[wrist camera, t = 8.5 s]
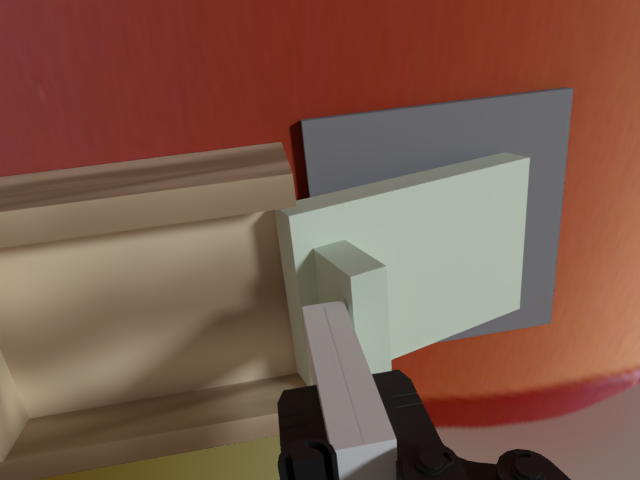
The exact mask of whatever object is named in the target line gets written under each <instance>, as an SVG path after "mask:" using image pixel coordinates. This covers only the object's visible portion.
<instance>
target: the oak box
mask: <svg viewBox="0 0 640 480" xmlns="http://www.w3.org/2000/svg"><path fill="white" fill-rule="evenodd" d="M293 207H297V206H296V198H295V190H294V182H293V174H292V171H291V168H290V165H289V162H288V159H287V157H286V154H285V151H284V148H283V145H282V142H277V143H269V144H261V145H253V146H245V147H237V148H229V149H221V150H213V151H205V152H197V153H189V154H181V155H173V156H165V157H157V158H149V159H142V160H134V161H126V162H118V163H110V164H102V165H94V166H86V167H78V168H70V169H62V170H54V171H46V172H38V173H30V174H22V175H14V176H6V177H0V480H36V479H41V478H47V477H52V476H58V475H63V474H69V473H75V472H80V471H85V470H91V469H97V468H102V467H108V466H113V465H119V464H125V463H130V462H136V461H141V460H147V459H152V458H158V457H163V456H169V455H174V454H179V453H186V452H191V451H196V450H202V449H208V448H213V447H219V446H224V445H229V444H235V443H241V442H247V441H252V440H257V439H263V438H268V437H274V436H280V434H279V421H278V420H279V419H278V408H277V403H278V400H279V398H280V396H281V394H282V392H283V390H288V389H294V388H300V387H305V386H307V385H306V383H305V382H304V380H303V379H302V378H301V376H300V375H299V373H298V372H297V367H296V360H295V353H294V346H293V339H292V332H291V324H290V317H289V310H288V303H287V296H286V289H285V282H284V275H283V268H282V261H281V254H280V247H279V240H278V233H277V226H276V219H275V212H274V210H278V209H286V208H293Z"/></svg>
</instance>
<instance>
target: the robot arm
mask: <svg viewBox="0 0 640 480" xmlns="http://www.w3.org/2000/svg"><path fill="white" fill-rule="evenodd" d="M302 311H303V319H304V326H305V334H306V342H307V350H308V358H309V366H310V373H311V378H312V383H313V385H311V386H305V387H300V388H294V389H288V390H283V392H282V394H281V396H280V398H279V400H278V403H277V408H278V419H279V420H278V421H279V434H280V446H281V454H280V455H279V460H278V470H279V475H280V480H570V479H569V478H568V477H567V476H566V475H565V474H564V473H563V472H562V471H561V470H560V469H559V468H558V467H556V466H555V465H554V464H553V463H552V462H551V461H549V460H548V459H547V458H545V457H544V456H542V455H541V454H538V453H535V452H533V451H530V450H521V449H515V450H511V451H507V452H505V453H504V454H503V455H501V456H500V457H499V460H498V462H497V464H489V463H478V462H472V461H467V460H465V459H462V458H459V457H458V456H456V455H455V453H454V452H453V451H452V450H451V449H449V448H448V447H446V446H444V444H443V443H442V441H441V439H440V437H439V436H438V433H437V431H436V429H435V427H434V425H433V423H432V421H431V419H430V417H429V415H428V413H427V411H426V409H425V407H424V405H423V404H422V401H421V399H420V397H419V395H418V394H417V391H416V389H415V387H414V385H413V383H412V381H411V379H410V378H408V377H407V376H406V375H405V374H403V373H402V372H401V371H400V370H393V371H387V372H381V373H375V374H371V371H370V369H369V366H368V363H367V361H366V358H365V355H364V353H363V350H362V348H361V345H360V342H359V340H358V337H357V335H356V332H355V329H354V327H353V324H352V321H351V319H350V316H349V314H348V311H347V308H346V306H345V303H344V300H342V301H336V302H329V303H323V304H316V305H310V306H303V307H302Z"/></svg>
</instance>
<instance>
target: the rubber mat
mask: <svg viewBox="0 0 640 480" xmlns="http://www.w3.org/2000/svg"><path fill="white" fill-rule="evenodd" d="M572 97H573V88H567V87H565V88H557V89H548V90H540V91H532V92H524V93H515V94H507V95H499V96H491V97H483V98H474V99H466V100H458V101H450V102H442V103H433V104H425V105H417V106H409V107H401V108H392V109H384V110H376V111H368V112H360V113H351V114H343V115H335V116H327V117H319V118H310V119H302V120H300V121H301V130H302V139H303V147H304V156H305V165H306V174H307V182H308V191H309V198H310V197H314V196H319V195H323V194H327V193H331V192H336V191H340V190H344V189H349V188H353V187H357V186H361V185H366V184H370V183H374V182H379V181H383V180H387V179H392V178H396V177H400V176H404V175H409V174H413V173H417V172H422V171H426V170H430V169H434V168H439V167H443V166H447V165H452V164H456V163H460V162H464V161H469V160H473V159H477V158H482V157H486V156H490V155H494V154H499V153H503V152H504V153H509V154H515V155H520V156H525V157H530V164H529V179H528V194H527V208H526V223H525V237H524V252H523V267H522V281H521V296H520V309H518V310H515V311H513V312H510V313H508V314H505V315H503V316H500V317H497V318H495V319H492V320H490V321H487V322H485V323H482V324H480V325H477V326H475V327H472V328H470V329H467V330H465V331H462V332H460V333H457V334H455V335H452V336H450V337H447V338H445V339H442V340H440V341H437V342H443V341H449V340H455V339H461V338H467V337H473V336H478V335H484V334H490V333H496V332H502V331H508V330H514V329H520V328H526V327H532V326H538V325H544V324H550V323H551V317H552V306H553V296H554V285H555V275H556V264H557V254H558V244H559V233H560V223H561V212H562V202H563V191H564V181H565V171H566V160H567V150H568V139H569V129H570V118H571V108H572ZM437 342H435V343H437Z"/></svg>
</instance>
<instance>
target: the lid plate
mask: <svg viewBox="0 0 640 480" xmlns="http://www.w3.org/2000/svg"><path fill="white" fill-rule="evenodd" d="M529 164H530V157H525V156H520V155H515V154H509V153H504V152H503V153H499V154H494V155H490V156H486V157H482V158H477V159H473V160H469V161H464V162H460V163H456V164H452V165H447V166H443V167H439V168H434V169H430V170H426V171H422V172H417V173H413V174H409V175H404V176H400V177H396V178H392V179H387V180H383V181H379V182H374V183H370V184H366V185H361V186H357V187H353V188H349V189H344V190H340V191H336V192H331V193H327V194H323V195H319V196H314V197H310V198H306V199H301V200H297V201H296V206H297V207H293V208H286V209H278V210H274V212H275V219H276V226H277V233H278V240H279V247H280V254H281V261H282V268H283V275H284V282H285V289H286V296H287V303H288V310H289V317H290V324H291V332H292V339H293V346H294V353H295V360H296V367H297V372H298V373H299V375H300V376H301V378H302V379H303V380H304V382H305V383H306V385H307V386H311V385H313V383H312V378H311V373H310V366H309V358H308V350H307V342H306V334H305V326H304V319H303V311H302V307H303V306H310V305H316V304H323V303H329V302H336V301H342V300H344V303H345V306H346V308H347V311H348V314H349V316H350V319H351V321H352V324H353V327H354V329H355V332H356V335H357V337H358V340H359V342H360V345H361V348H362V350H363V353H364V355H365V358H366V361H367V363H368V366H369V369H370V371H371V374H375V373H381V372H387V371H392V369H391V360H392V359H395V358H397V357H400V356H402V355H405V354H407V353H410V352H412V351H415V350H417V349H420V348H422V347H425V346H427V345H430V344H432V343H435V342H437V341H440V340H442V339H445V338H447V337H450V336H452V335H455V334H457V333H460V332H462V331H465V330H467V329H470V328H472V327H475V326H477V325H480V324H482V323H485V322H487V321H490V320H492V319H495V318H497V317H500V316H503V315H505V314H508V313H510V312H513V311H515V310H518V309H520V296H521V281H522V267H523V252H524V237H525V223H526V208H527V194H528V179H529Z"/></svg>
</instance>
